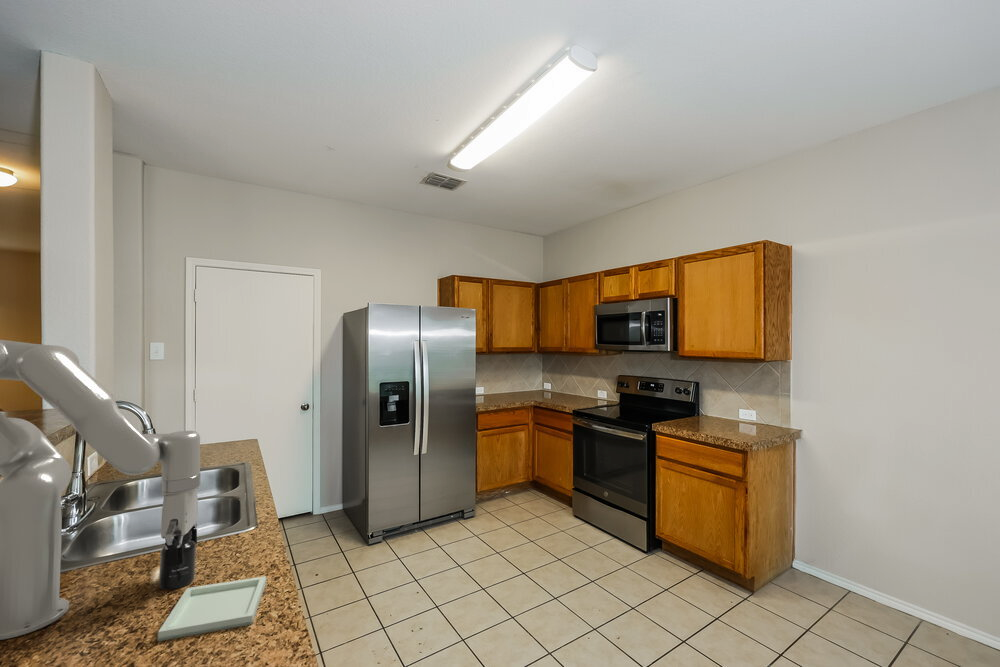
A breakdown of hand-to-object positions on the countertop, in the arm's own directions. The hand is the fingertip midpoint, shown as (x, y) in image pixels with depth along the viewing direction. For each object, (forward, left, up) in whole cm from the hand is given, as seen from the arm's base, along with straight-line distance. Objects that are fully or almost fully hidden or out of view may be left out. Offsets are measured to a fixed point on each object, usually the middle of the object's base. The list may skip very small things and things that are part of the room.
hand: (182, 554), depth 104 cm
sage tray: (+11, -15, -6) cm, 20 cm away
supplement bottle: (-1, 0, -7) cm, 7 cm away
